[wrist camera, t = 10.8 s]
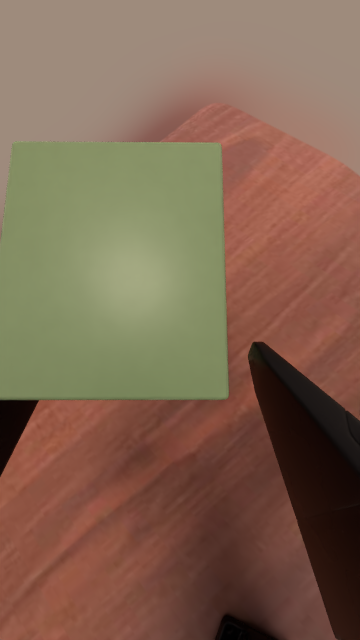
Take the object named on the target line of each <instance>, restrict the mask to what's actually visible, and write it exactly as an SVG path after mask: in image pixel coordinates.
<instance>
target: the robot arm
mask: <svg viewBox="0 0 360 640" xmlns="http://www.w3.org/2000/svg"><path fill="white" fill-rule="evenodd" d="M248 360H249V365H250V370H251V375H252V380H253V385H254V389H255V393H256V396H257V399H258V402H259V405H260V409H261V412H262V415H263V418H264V421H265V424H266V427H267V430H268V433H269V436H270V439H271V442H272V445H273V448H274V451H275V455H276V458H277V461H278V464H279V467H280V470H281V473H282V476H283V479H284V482H285V485H286V488H287V491H288V494H289V498H290V501H291V504H292V507H293V510H294V513H295V516H296V519H297V523H298V526H299V529H300V532H301V535H302V538H303V541H304V544H305V547H306V550H307V553H308V556H309V559H310V562H311V565H312V569H313V572H314V575H315V578H316V581H317V584H318V587H319V590H320V593H321V596H322V599H323V602H324V605H325V608H326V612H327V615H328V618H329V621H330V624H331V627H332V630H333V632H334V635H335V638H336V639H337V640H360V421H359V420H358V419H357V418H356V417H354V416H353V415H352V414H351V413H349V412H348V411H345V409H344V408H343V407H342V406H341V405H340V404H338V403H337V402H336V401H335V400H333V399H332V398H331V397H330V396H329V395H327V394H326V393H325V392H324V391H322V390H321V389H320V388H319V387H318V386H316V385H315V384H314V383H313V382H311V381H310V380H309V379H308V378H307V377H305V376H304V375H303V374H302V373H301V372H299V371H298V370H297V369H296V368H294V367H293V366H292V365H291V364H290V363H288V362H287V361H286V360H285V359H283V358H282V357H281V356H280V355H279V354H277V353H276V352H275V351H274V350H272V349H271V348H270V347H269V346H268V345H266V344H265V343H264V342H253V343H252V345H251V348H250V351H249V354H248ZM38 401H39V400H0V476H1V474H2V472H3V470H4V468H5V467H6V465H7V463H8V461H9V459H10V457H11V455H12V453H13V451H14V449H15V447H16V445H17V443H18V441H19V439H20V437H21V435H22V433H23V431H24V429H25V427H26V425H27V423H28V421H29V419H30V417H31V415H32V413H33V411H34V409H35V407H36V405H37V403H38ZM216 640H274V639H272V638H270V637H268V636H266V635H265V634H263V633H261V632H259V631H257V630H255V629H253V628H251V627H249V626H247V625H245V624H243V623H241V622H239V621H237V620H235V619H233V618H231V617H229V616H226V617H224V618H223V620H222V623H221V626H220V629H219V631H218V634H217V637H216Z"/></svg>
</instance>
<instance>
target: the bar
mask: <svg viewBox="0 0 360 640" xmlns="http://www.w3.org/2000/svg"><path fill="white" fill-rule="evenodd" d="M228 396H229V378H228V343H227V309H226V275H225V240H224V206H223V171H222V147H221V144H220V143H182V142H14V143H13V144H12V151H11V159H10V167H9V176H8V184H7V192H6V200H5V208H4V216H3V224H2V233H1V242H0V400H225V399H228Z"/></svg>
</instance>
